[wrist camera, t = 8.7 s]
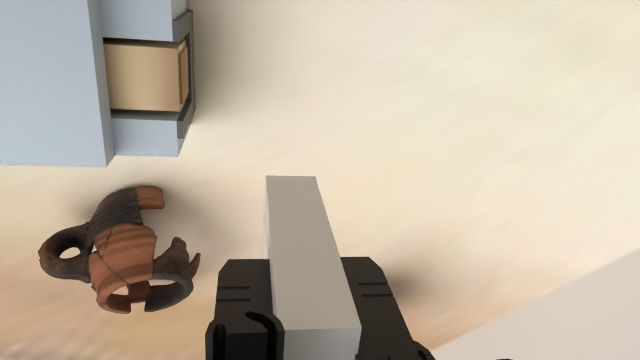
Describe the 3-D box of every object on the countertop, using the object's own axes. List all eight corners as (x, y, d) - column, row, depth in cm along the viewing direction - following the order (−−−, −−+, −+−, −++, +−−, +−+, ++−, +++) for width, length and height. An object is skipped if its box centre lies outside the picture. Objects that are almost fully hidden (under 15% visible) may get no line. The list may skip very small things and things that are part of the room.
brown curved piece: (197, 178, 40) (210, 263, 35) (186, 235, 47) (196, 313, 42) (35, 182, 35) (26, 281, 30) (49, 245, 42) (44, 334, 37)
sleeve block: (28, 118, 35) (-38, 163, 27) (2, -24, 31) (-84, -21, 23) (195, 124, 37) (180, 168, 29) (191, -9, 33) (172, 0, 25)
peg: (8, 87, 32) (-23, 102, 28) (-4, 27, 30) (-39, 35, 27) (189, 96, 34) (182, 111, 30) (187, 39, 32) (179, 48, 29)
